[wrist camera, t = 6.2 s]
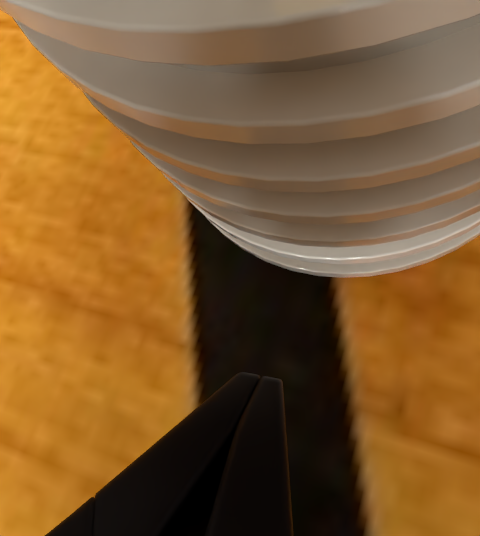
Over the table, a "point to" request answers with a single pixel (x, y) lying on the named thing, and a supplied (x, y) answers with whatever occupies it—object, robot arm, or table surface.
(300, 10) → the plate stack
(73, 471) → the table surface
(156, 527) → the robot arm
